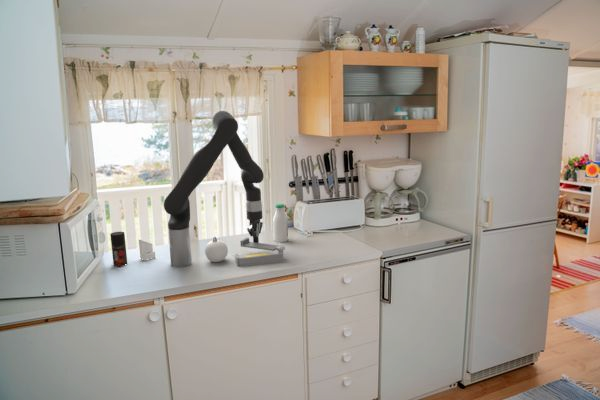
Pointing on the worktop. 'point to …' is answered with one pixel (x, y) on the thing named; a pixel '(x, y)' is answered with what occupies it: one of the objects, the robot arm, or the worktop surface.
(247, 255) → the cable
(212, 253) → the ornament
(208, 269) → the worktop surface
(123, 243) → the deodorant
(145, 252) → the white wedge bracket
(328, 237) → the worktop surface
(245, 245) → the cover
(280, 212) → the milk bottle
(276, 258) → the grey tray
